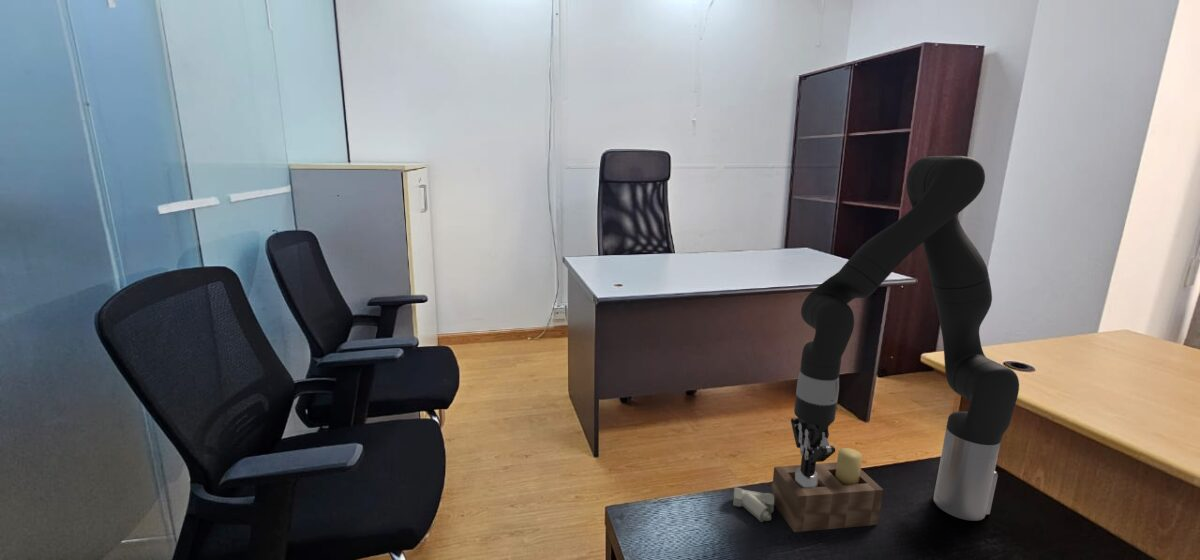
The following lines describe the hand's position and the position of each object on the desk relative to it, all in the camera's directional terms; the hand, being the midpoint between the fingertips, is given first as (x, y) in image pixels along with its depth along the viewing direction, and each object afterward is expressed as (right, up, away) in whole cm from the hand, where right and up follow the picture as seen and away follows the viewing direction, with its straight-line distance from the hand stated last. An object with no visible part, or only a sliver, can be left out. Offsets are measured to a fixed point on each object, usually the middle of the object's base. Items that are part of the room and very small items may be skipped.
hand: (806, 473), depth 106 cm
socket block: (+4, -9, +3) cm, 10 cm away
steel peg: (0, -8, +2) cm, 8 cm away
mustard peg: (+9, -4, +2) cm, 10 cm away
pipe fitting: (-10, -9, +3) cm, 14 cm away
